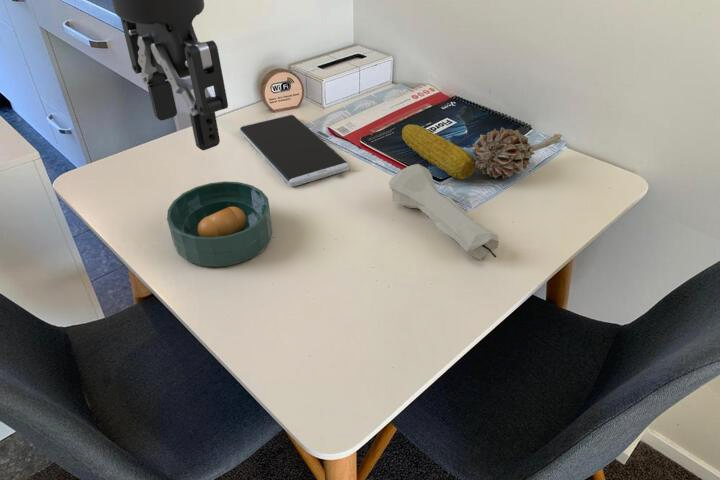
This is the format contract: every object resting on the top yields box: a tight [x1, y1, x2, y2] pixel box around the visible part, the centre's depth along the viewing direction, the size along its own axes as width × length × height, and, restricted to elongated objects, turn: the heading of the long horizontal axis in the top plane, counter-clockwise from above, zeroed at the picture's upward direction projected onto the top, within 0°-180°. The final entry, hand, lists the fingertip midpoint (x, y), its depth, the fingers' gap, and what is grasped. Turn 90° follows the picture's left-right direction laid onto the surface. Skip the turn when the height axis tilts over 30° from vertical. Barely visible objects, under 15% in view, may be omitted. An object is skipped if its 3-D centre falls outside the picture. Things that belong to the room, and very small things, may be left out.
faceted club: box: [388, 163, 500, 261], centre depth 88 cm, size 9×8×25 cm
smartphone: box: [239, 113, 350, 187], centre depth 111 cm, size 13×27×2 cm, turn 31°
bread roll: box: [198, 207, 246, 238], centre depth 86 cm, size 8×4×4 cm, turn 133°
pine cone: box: [469, 127, 563, 179], centre depth 103 cm, size 22×10×10 cm, turn 121°
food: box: [401, 124, 476, 180], centre depth 107 cm, size 21×6×6 cm, turn 34°
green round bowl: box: [166, 181, 273, 268], centre depth 86 cm, size 16×16×6 cm
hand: (187, 131), depth 53 cm, fingers open, 8 cm apart
